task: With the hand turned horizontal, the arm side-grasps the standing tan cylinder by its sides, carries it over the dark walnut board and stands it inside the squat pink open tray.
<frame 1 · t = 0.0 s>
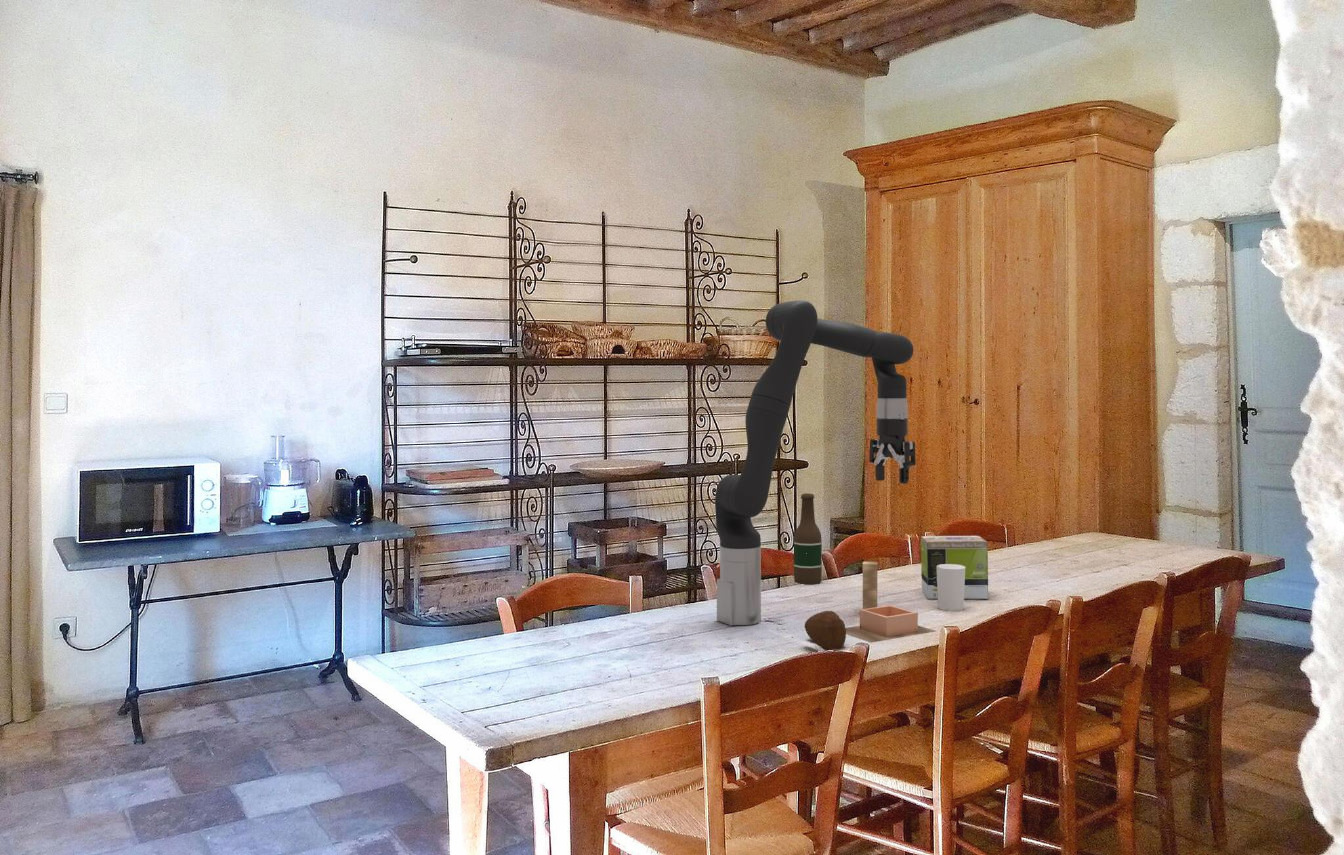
hand: (891, 481, 247), 29 cm above the table, tool pointing down, fingers open, 8 cm apart
pink open tray: (888, 629, 213), resting on board
beer bottle: (807, 582, 270), on the table
tan cylinder: (870, 619, 227), on the table
board: (884, 635, 212), on the table
potato: (827, 650, 202), on the table
tea box: (953, 596, 252), on the table
white upright cylinder: (950, 608, 238), on the table
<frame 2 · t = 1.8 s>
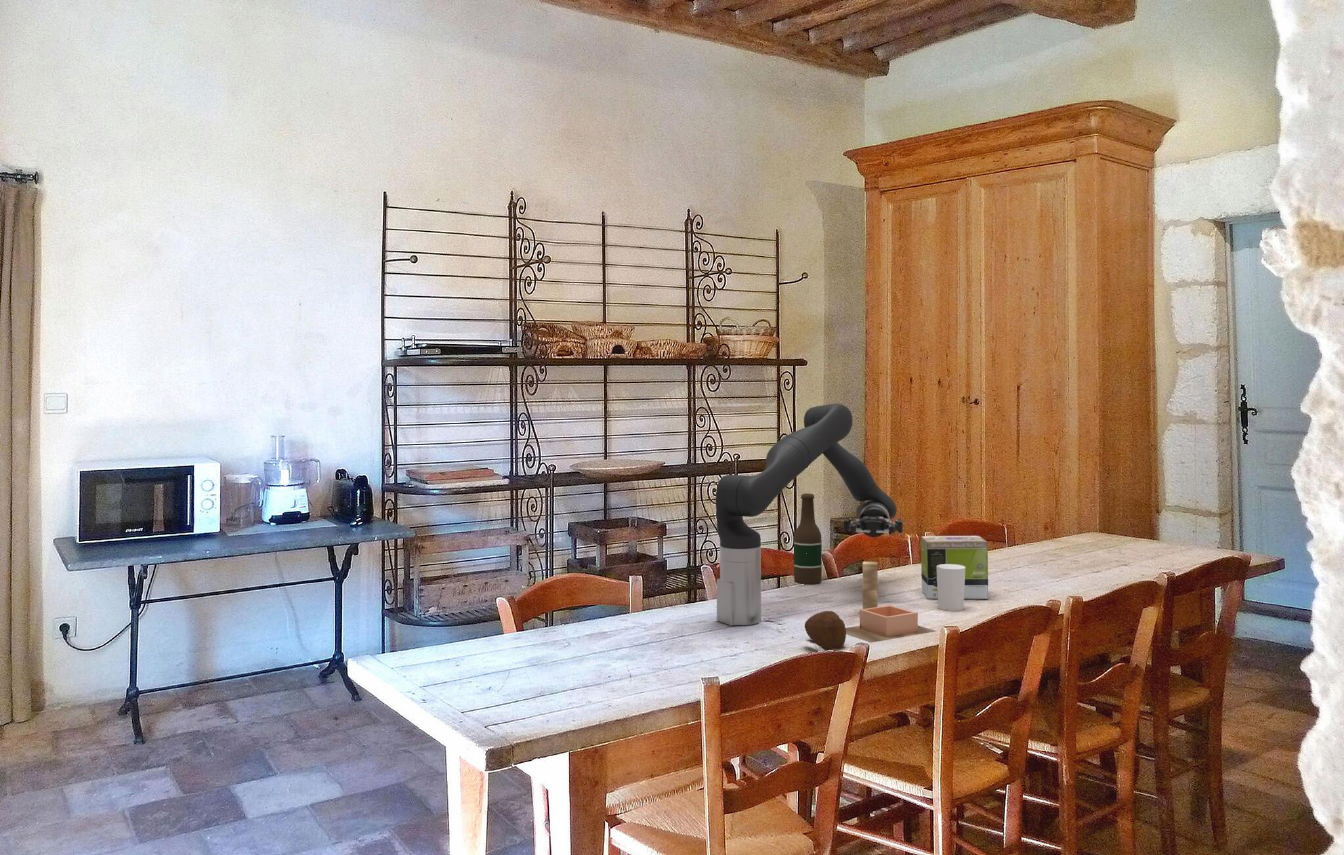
hand: (872, 529, 237), 19 cm above the table, tool horizontal, fingers open, 8 cm apart
nothing on the table moved.
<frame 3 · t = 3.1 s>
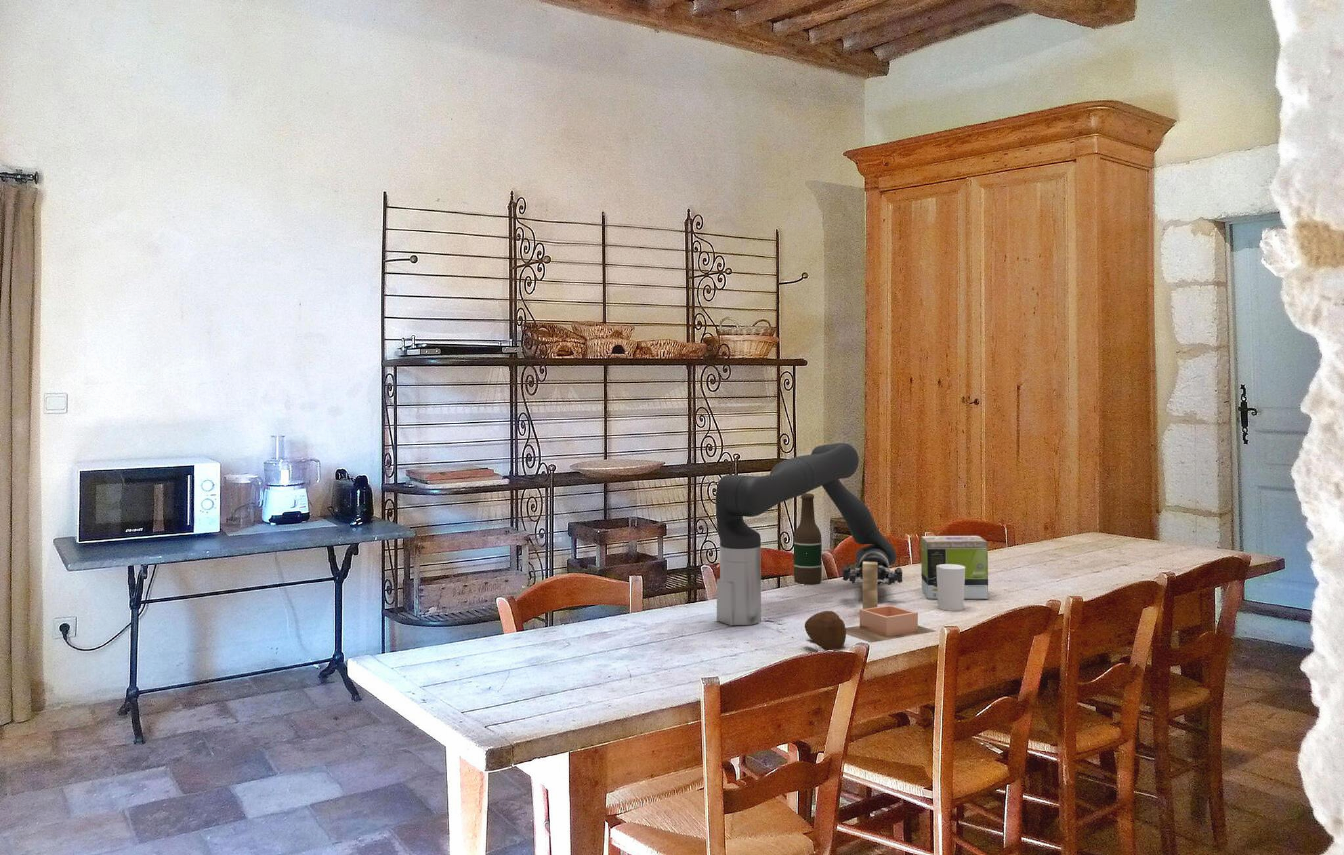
hand: (871, 579, 237), 7 cm above the table, tool horizontal, fingers open, 8 cm apart
nothing on the table moved.
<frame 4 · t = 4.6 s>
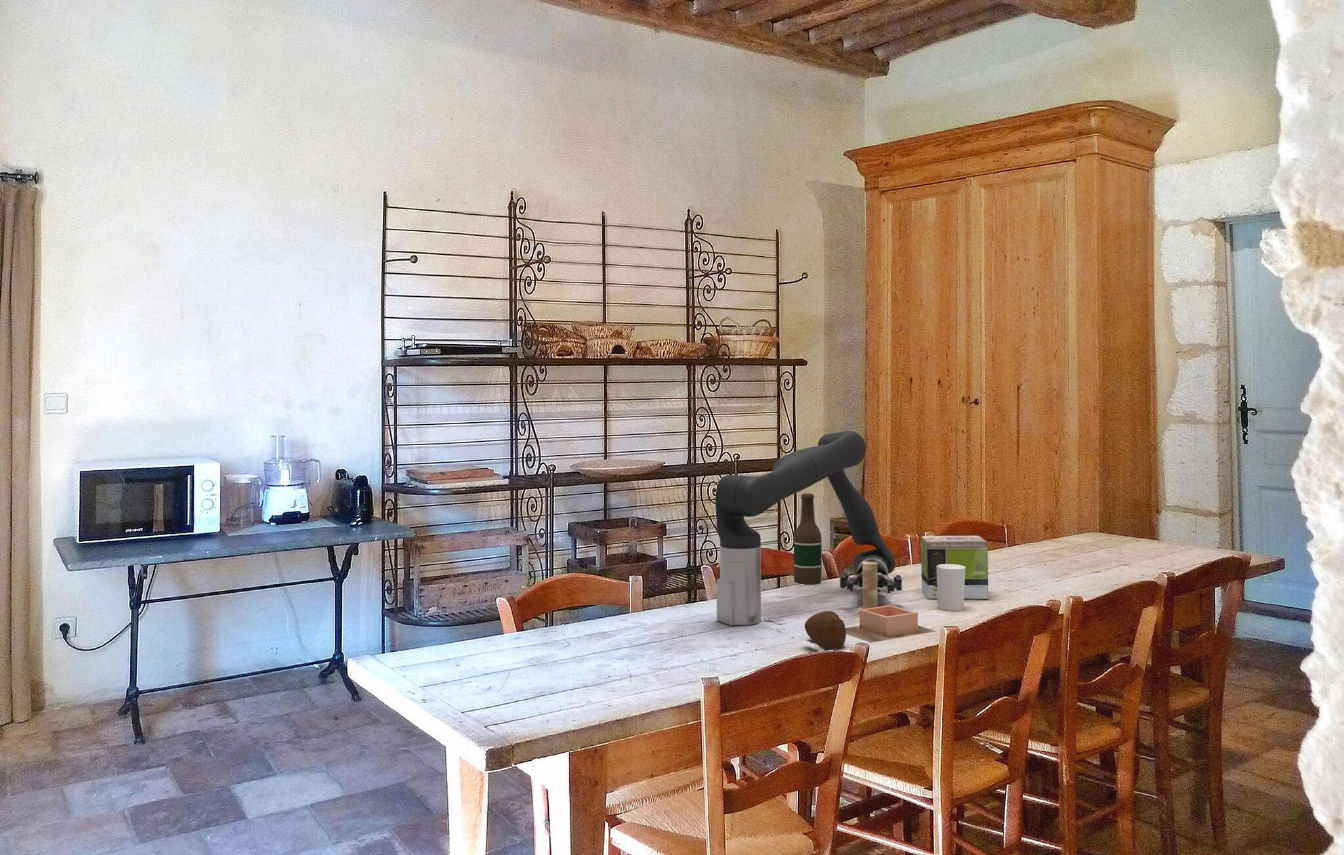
hand: (870, 587, 228), 7 cm above the table, tool horizontal, fingers open, 8 cm apart
nothing on the table moved.
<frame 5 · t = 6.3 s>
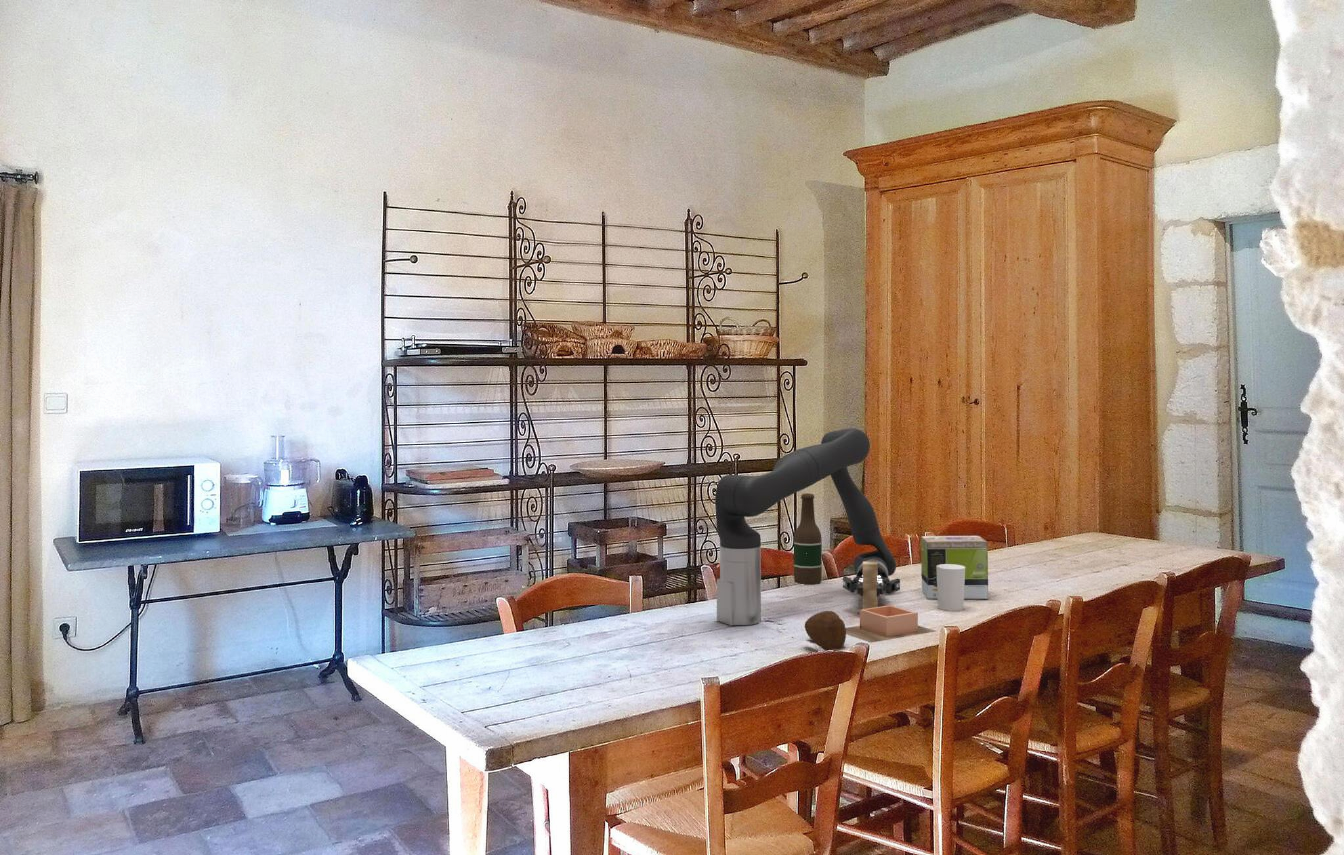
hand: (869, 591, 224), 7 cm above the table, tool horizontal, fingers closed on tan cylinder, 3 cm apart
tan cylinder: (870, 619, 227), on the table, touching gripper
everything else where it was.
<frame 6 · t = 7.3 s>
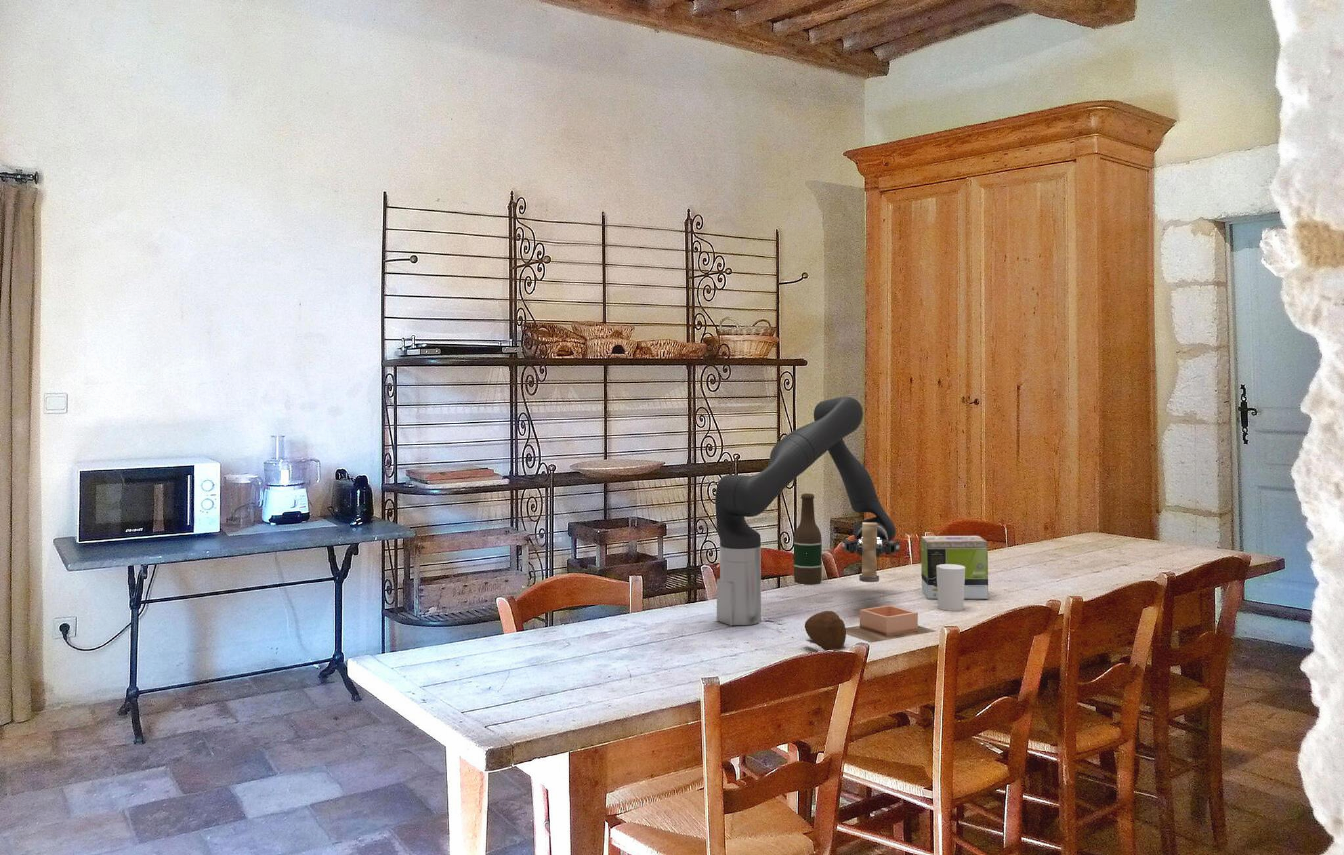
hand: (869, 551, 223), 16 cm above the table, tool horizontal, fingers closed on tan cylinder, 3 cm apart
tan cylinder: (869, 580, 226), point 9 cm above the table, touching gripper
everything else where it was.
when the fingers open (10 cm above the table, at t = 10.7 s): tan cylinder stays where it is, resting on pink open tray.
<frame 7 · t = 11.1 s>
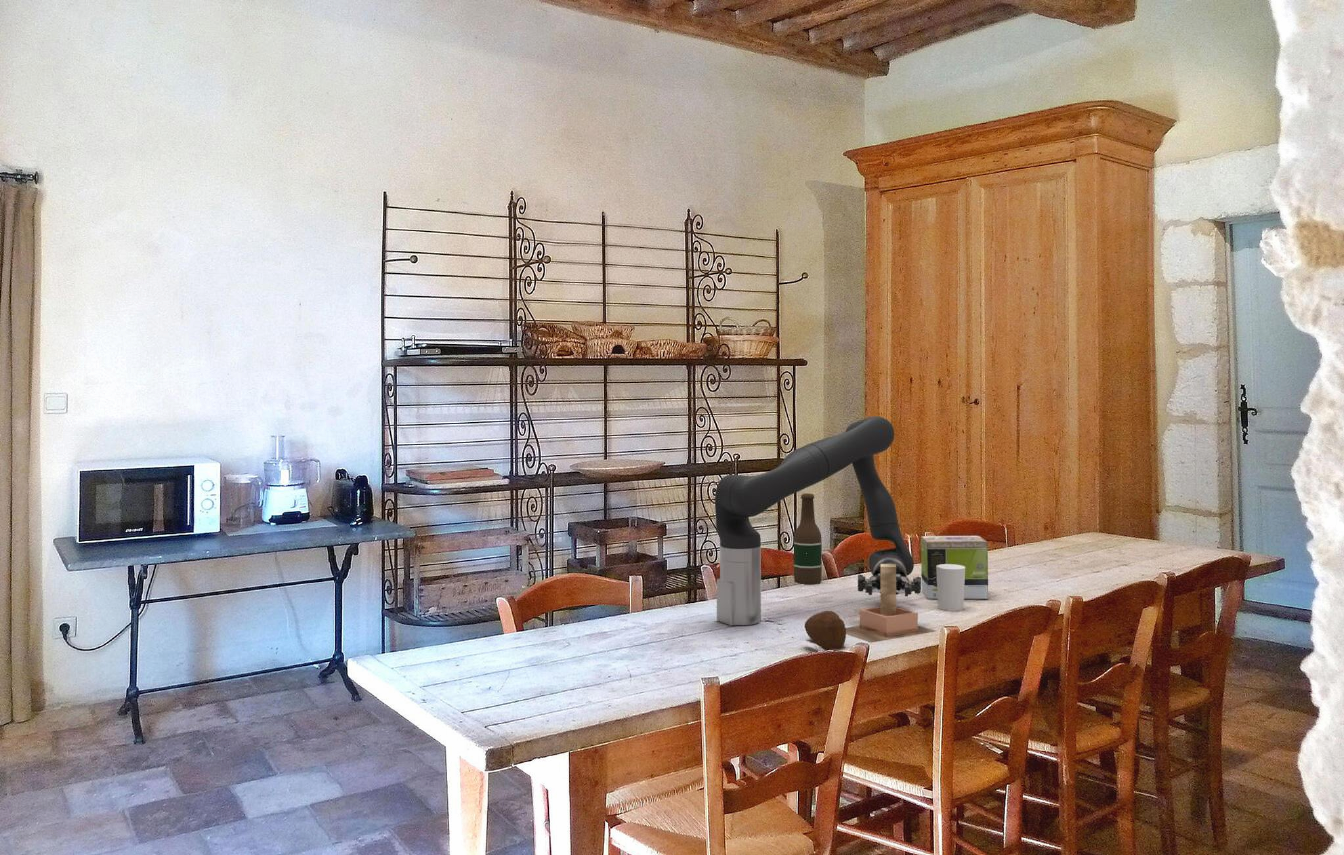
hand: (888, 590, 210), 10 cm above the table, tool horizontal, fingers open, 7 cm apart
tan cylinder: (888, 625, 213), point 2 cm above the table, touching pink open tray
everything else where it was.
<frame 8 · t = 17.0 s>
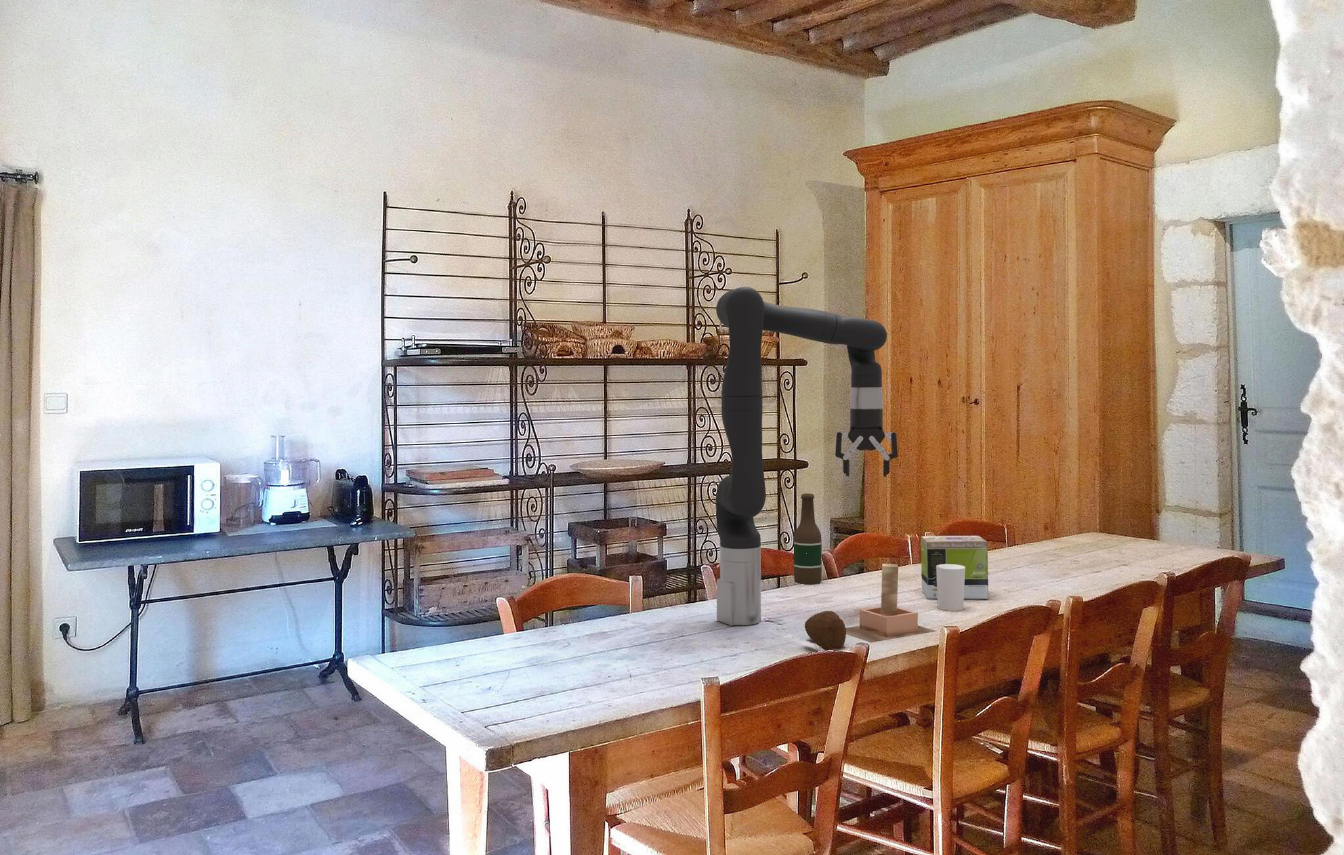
hand: (866, 476, 233), 32 cm above the table, tool pointing down, fingers open, 8 cm apart
nothing on the table moved.
at the end: tan cylinder 0.0 cm off-centre on the pink open tray, point 0.9 cm above the pink open tray's base; tan cylinder tilted 2°; the gripper is holding nothing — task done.
